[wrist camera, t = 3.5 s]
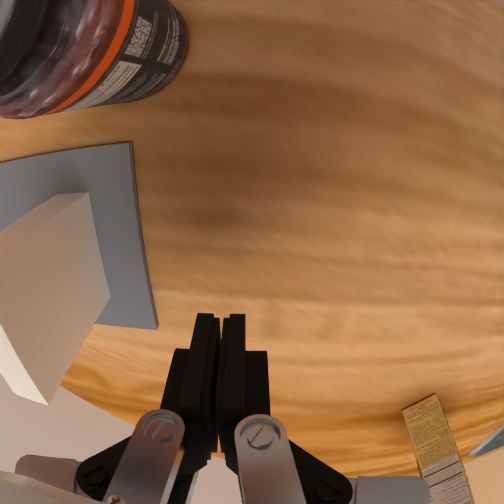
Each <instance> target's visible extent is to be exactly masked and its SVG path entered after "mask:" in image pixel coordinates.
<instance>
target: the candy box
mask: <svg viewBox="0 0 504 504" xmlns="http://www.w3.org/2000/svg"><path fill="white" fill-rule="evenodd" d="M402 413H403V416H404V419H405V423H406V426H407V429H408V433H409V436H410V439H411V443H412V447H413V450H414V454H415V458H416V462H417V466H418V469H419V473H420V477H421V478H422V479H424V480H425V481H426V482H427V484H428V485H429V489H430V504H475V503H474V500H473V496H472V492H471V488H470V485H469V482H468V478H467V476H466V472H465V469H464V466H463V463H462V460H461V457H460V454H459V452H458V449H457V446H456V443H455V440H454V438H453V435H452V432H451V430H450V427H449V425H448V422H447V420H446V417H445V414H444V412H443V410H442V407H441V405H440V402H439V400H438V398H437V395H436V394H433V395H431V396H429V397H428V398H426V399H424V400H422V401H420V402H418V403H416V404H414V405H412V406H410V407H408V408H406V409H404V410H402Z"/></svg>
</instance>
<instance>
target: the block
mask: <svg viewBox="0 0 504 504" xmlns="http://www.w3.org/2000/svg"><path fill="white" fill-rule="evenodd" d="M110 298H111V295H110V291H109V288H108V284H107V280H106V276H105V272H104V267H103V263H102V259H101V254H100V250H99V245H98V240H97V235H96V230H95V225H94V220H93V214H92V208H91V202H90V196H89V192H82V193H68V194H57V195H55V196H53V197H52V198H50V199H49V200H47V201H45V202H44V203H42V204H41V205H39V206H37V207H36V208H34V209H33V210H31V211H30V212H28V213H27V214H25V215H24V216H22V217H21V218H19V219H18V220H16V221H15V222H13V223H12V224H11V225H9V226H8V227H6V228H5V229H4V230H2V231H1V232H0V372H1V374H2V375H3V377H4V379H5V380H6V381H7V383H8V385H9V386H10V387H11V389H12V390H13V392H14V393H15V394H17V395H20V396H22V397H25V398H28V399H30V400H33V401H36V402H39V403H42V404H45V405H48V406H49V405H50V403H51V401H52V399H53V397H54V395H55V393H56V391H57V389H58V387H59V385H60V383H61V382H62V380H63V378H64V376H65V374H66V372H67V370H68V369H69V367H70V365H71V363H72V361H73V360H74V358H75V356H76V354H77V352H78V351H79V349H80V347H81V345H82V344H83V342H84V340H85V339H86V337H87V335H88V333H89V332H90V330H91V328H92V327H93V325H94V323H95V322H96V320H97V319H98V317H99V315H100V314H101V312H102V310H103V309H104V307H105V306H106V304H107V302H108V301H109V299H110Z"/></svg>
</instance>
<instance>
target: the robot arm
mask: <svg viewBox="0 0 504 504" xmlns="http://www.w3.org/2000/svg"><path fill="white" fill-rule="evenodd" d="M218 434H219V440H220V446H221V452H222V453H225V460H226V466H227V467H228V468H229V469H231V470H232V471H233V472H234V473H235V474H237V476H238V483H239V488H240V494H241V500H242V504H430V489H429V485H428V484H427V482H426V481H425V480H424V479H422V478H421V477H418V476H358V477H357V478H346V477H345V476H344V475H342V474H341V473H339V472H337V471H336V470H334V469H332V468H331V467H329V466H328V465H326V464H325V463H323V462H321V461H320V460H318V459H317V458H315V457H314V456H312V455H311V454H309V453H308V452H306V451H305V450H303V449H302V448H300V447H299V446H298V445H296V444H295V443H293V442H292V441H290V440H289V439H288V437H287V433H286V430H285V428H284V426H283V424H282V423H281V422H280V421H279V420H278V419H276V418H274V417H272V416H271V415H270V396H269V377H268V359H267V351H246V348H245V314H230V318H224V320H223V329H222V338H221V333H220V319H219V318H214V314H212V313H198V314H197V318H196V322H195V327H194V331H193V336H192V341H191V345H190V349H179V348H176V349H175V351H174V354H173V358H172V362H171V366H170V370H169V374H168V378H167V382H166V386H165V390H164V394H163V398H162V402H161V407H160V409H158V410H153V411H150V412H148V413H146V414H145V415H143V416H142V417H141V418H140V420H139V421H138V423H137V425H136V427H135V430H134V432H133V434H132V435H131V436H130V437H128V438H126V439H124V440H122V441H121V442H119V443H117V444H115V445H113V446H111V447H109V448H107V449H105V450H104V451H102V452H100V453H98V454H96V455H94V456H92V457H90V458H88V459H87V460H85V461H83V462H79V461H76V460H75V459H66V458H55V457H45V456H38V455H25V456H23V457H21V458H20V459H19V460H18V461H17V464H16V468H15V473H10V472H2V471H0V504H190V500H191V497H192V493H193V490H194V487H195V483H196V480H197V476H198V470H200V469H201V468H203V467H204V466H206V465H207V460H210V459H211V452H217V446H218Z"/></svg>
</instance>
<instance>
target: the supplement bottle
mask: <svg viewBox="0 0 504 504" xmlns="http://www.w3.org/2000/svg"><path fill="white" fill-rule="evenodd" d="M187 44H188V32H187V27H186V24H185V22H184V20H183V17H182V16H181V14H180V13H179V11H178V10H177V9H176V8H175V7H174V6H173V5H172V4H171V3H170V2H169V1H168V0H0V117H2V118H6V119H27V118H33V117H37V116H42V115H48V114H53V113H58V112H64V111H69V110H75V109H81V108H88V107H94V106H102V105H110V104H118V103H129V102H133V101H137V100H141V99H143V98H146V97H148V96H150V95H152V94H154V93H156V92H157V91H159V90H160V89H161V88H163V87H164V86H165V85H166V84H168V83H169V82H170V80H171V79H172V78H173V77H174V76H175V75H176V73H177V71H178V69H179V68H180V66H181V64H182V62H183V60H184V57H185V54H186V51H187Z"/></svg>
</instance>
